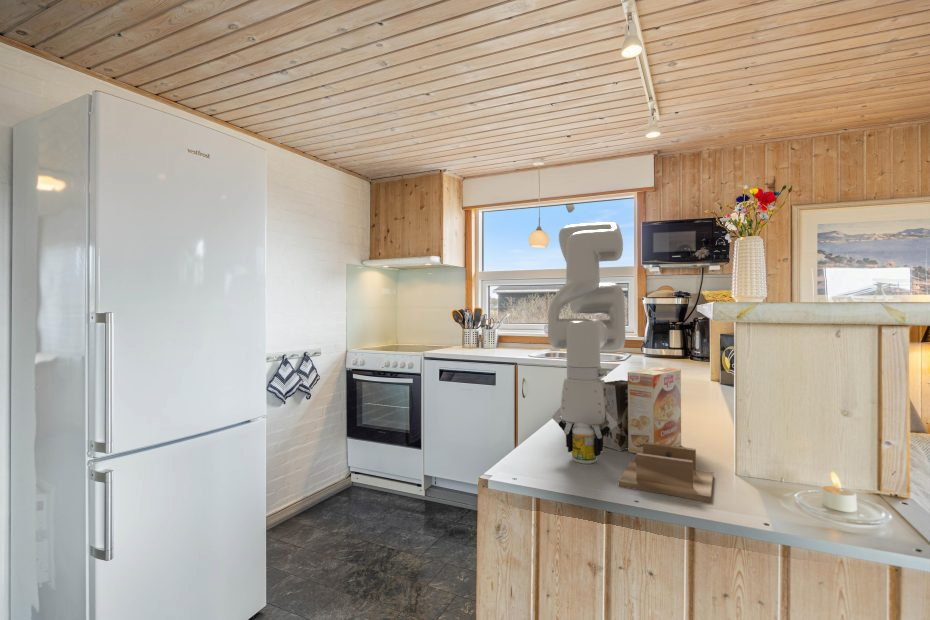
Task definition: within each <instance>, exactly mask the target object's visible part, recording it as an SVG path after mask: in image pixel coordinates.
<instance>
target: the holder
mask: <svg viewBox="0 0 930 620" xmlns="http://www.w3.org/2000/svg"><path fill="white" fill-rule="evenodd" d="M696 458H697V451H696V448H692V447H684V446H683V447H682V446H679V447H677V446H669V445H661V444H653V443H646V442H644V443H643V454H642V453H637V454H636V453H635V460H634V459H633V460H630V462H629V463H628V465H627V467H626V468H625V469H624V471H623V473H622V474H621V476H620V477H619V479H618V480H617V481H618V482H617V486H618V487H623V488H627V489H634V490H638V491H643V492H650V493H657V494H662V495H667V496H672V497H678V498H679V497H680V498H685V499H690V500H695V501H696V500H697V501H701V502H706V503H712V493H713V492H712V491H713V483H714V472H713V471H709V470H708V471H706V470H701V469H697V459H696Z"/></svg>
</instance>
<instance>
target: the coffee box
mask: <svg viewBox="0 0 930 620" xmlns="http://www.w3.org/2000/svg"><path fill="white" fill-rule="evenodd" d="M604 382H605V381H604ZM605 386H606V392H607V401H608V411H609V412H610V413H611V414H612V416H613V417H614V418H615V419H616V420H617V422H618V425H617V426H616V427H614V428H613V429H612V430H610V431H609V432H608V433H607V434H605V435H604V436H603V447H606V448H609V449H612V450H615V451H619V452H620V451H621V452H622V451H624V450H628V380H623V379H619V380H613V381H606V382H605ZM608 424H609V421H608V420H607V421H605V422H604V424H602V426H603V428H605V427H606V426H607V425H608Z"/></svg>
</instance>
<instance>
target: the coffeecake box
mask: <svg viewBox="0 0 930 620" xmlns="http://www.w3.org/2000/svg"><path fill="white" fill-rule="evenodd" d="M681 376H682V369H681V368H672V367H663V366H661V367H659V366H654V367H649V368H645V369H644V368H643V369H638V370H633V371H628V372H627V381H628V449H627V452H628V453H632V454H633V453H634V454H635V455H636V454H637V453H642V454H643V443H644V442H646V443H653V444H661V445H669V446H677V447H682V377H681Z"/></svg>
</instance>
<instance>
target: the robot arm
mask: <svg viewBox="0 0 930 620" xmlns="http://www.w3.org/2000/svg"><path fill="white" fill-rule="evenodd" d="M558 241H559V242H558V243H559V247H560V251H561V253H562V256H563V258H564V261H565V262H566V271H565V272H566V273H565V276H566V279H565V280H566V282H565V283H564V285H563V286H562V287H561V288H559V290H557V292H556V293H555V295H554V296H553V298H551V299H552V300H551V302H550V305H549V307H548V315H547V317H548V318H547V339H548V343H549V344H550V346H551V347H553V348H555V349H558V350H559V349H560V350H566V377H565V378H564V380H563V384H562V390H561V400H560V401H561V402H560V407H559V408H558V409H557V410H556V411H555V412H554V414H552V416H551V419H552V420H553V421H554V422H555V423H556V424H558V426H559V427H560V429H561V430H562V431H563V433H564V434H565V447H567V452H568V453H571V452H572V453H573V442H572V430H573V428H574V427H575V426H576V424H575V423H584V424H587V425H593V426H592V427H593V428H594V430H595V433H596V438H595V439H594V453H595V456H597V457H599V455H601V453H603V451H604V446H603V436H604V435H605V434H607V433H608V432H609V431H610V430H612V429H613V428H614V427H616V426H617V425H618V422H617V420H616V419H615V418H614V417H613V416H612V414H611V413H610V412H609V411H608V401H607V392H606V386H605V380H604V379H602V377H607V375H608V370H607V369H603V368H602V366H601V352H619V351H621V350H623V348H624V347H625V344H626V312H625V311H626V310H625V309H626V308H625V307H626V303H625V293H624V290H623V287H622V286H621V285H620V284H618V283H613V282H601V278H600V275H601V274H600V262H615V261H619V260H620V259H621V257H622V255H623V251H624V242H623V235H622V232H621V229H620V226H619V224H617V223H616V222H610V221H609V222H595V223H593V222H592V223H579V224H578V223H575V224H570V225H565V226H564V227H562V228H561V229H560V231H559V232H558ZM568 304H569V308H570V311H571V313H574V314H576V315H581V316H588V315H589V316H594V315H596V316H597V315H598V316H602V315H603V316H607V317H608V318H609V319H601V318H600V319H599V318H560V315H561V314H560V313H561V311H562V310H563V308H565V306H566V305H568ZM607 420H608V421H609V424H608V425H607V426H606V427H605V428H603V426H602V424H604V422H605V421H607Z"/></svg>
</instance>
